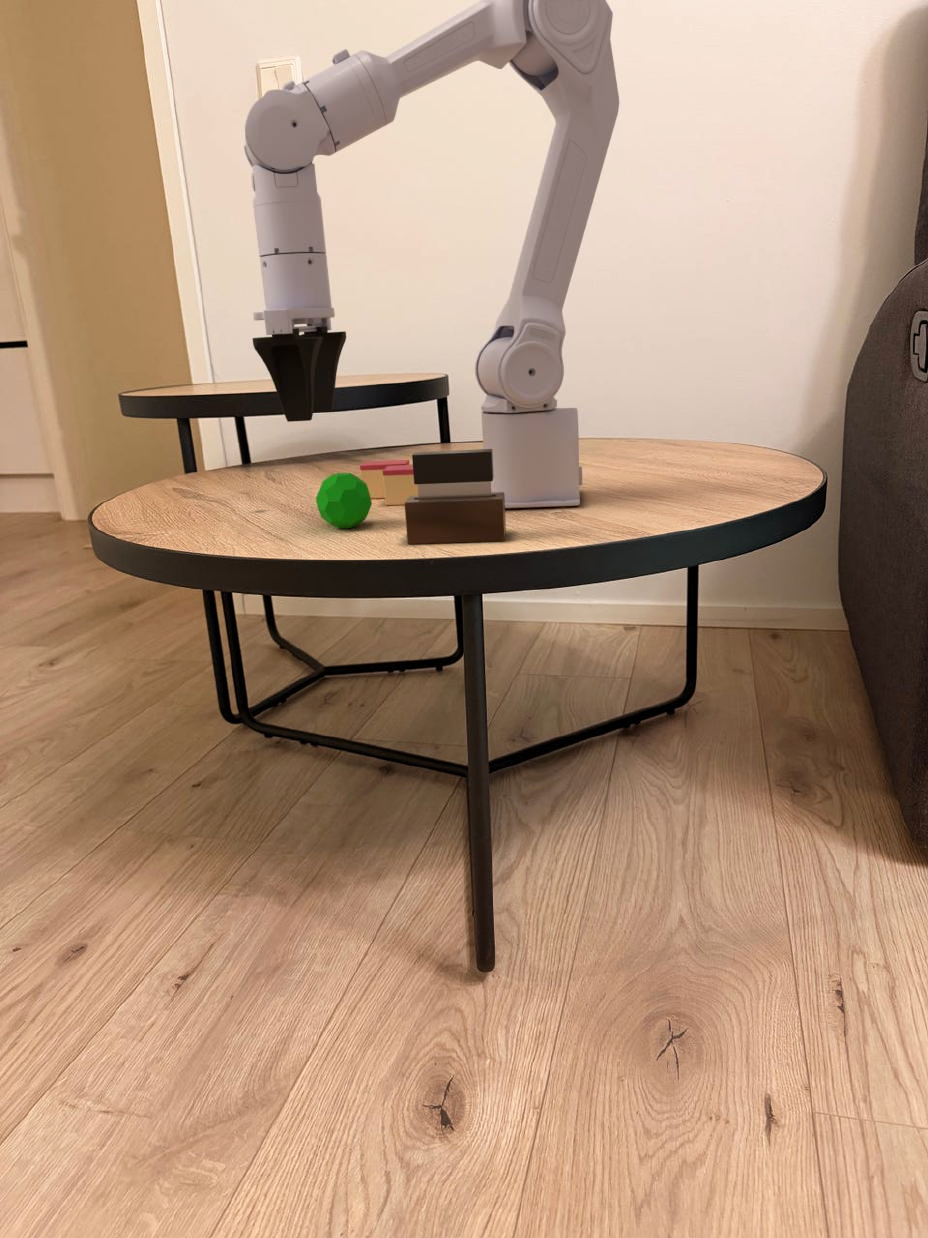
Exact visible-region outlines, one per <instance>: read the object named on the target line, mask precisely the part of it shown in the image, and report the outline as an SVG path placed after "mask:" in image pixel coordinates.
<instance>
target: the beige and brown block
mask: <svg viewBox="0 0 928 1238" xmlns="http://www.w3.org/2000/svg"><path fill="white" fill-rule="evenodd" d="M411 461H412V465H413V475H414V484H418V496H419V499H445V498H471V497H492V495H491V481H493V478H494V475H493V453H492V449H483V448H481V449H480V448H479V449H457V450H437V451H436V450H433V451H432V450H431V451H415V452H413V454H412V455H411Z"/></svg>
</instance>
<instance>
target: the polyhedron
mask: <svg viewBox="0 0 928 1238" xmlns="http://www.w3.org/2000/svg"><path fill="white" fill-rule="evenodd" d="M315 501H316V507H317V510H318V513H319V516H320V518H321V520H323V521H325V523H327V524H329V525H331V526H332V527H334V528H336V529H351V528H356V527H357V526H358V525H360V524H361V523H362V522H364V521H365V520H366V519H367V517H368V515H369V512H370V510H371V507H372V505H373V502H372V498H371V497H370V493H369V490H368V487H367V484H366V483H365V482H364V481H362V480H361V477H359V476H357V475H355V474H353V473H351V472H337V473H334V474H330V475H329V476H328V477H327V478H325V479H324V480H322V482H321V484H320V487H319V489H318V492H317V494H316V497H315Z"/></svg>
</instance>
